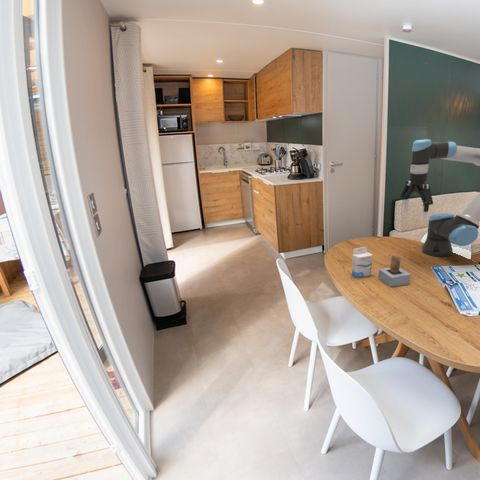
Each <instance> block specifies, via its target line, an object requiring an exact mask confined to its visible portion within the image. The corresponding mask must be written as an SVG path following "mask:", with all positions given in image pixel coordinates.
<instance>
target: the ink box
mask: <svg viewBox="0 0 480 480" xmlns="http://www.w3.org/2000/svg"><path fill="white" fill-rule="evenodd" d="M373 257H374V255H373V254H372V253H370V252H368V246H362V247H357V248H356V247H354V248H353V250H352V266H351V275H352V276H353V277H355V278H357V279H358V278H363V277H369V276H372V269H373Z"/></svg>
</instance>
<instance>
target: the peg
mask: <svg viewBox="0 0 480 480" xmlns="http://www.w3.org/2000/svg"><path fill="white" fill-rule="evenodd" d="M401 259H402V257H401V256H400V255H397V254H394V255H393V254H392V255H391V258H390V273H391V274H392V275H396V274H399V269H400V268H401V261H402V260H401Z"/></svg>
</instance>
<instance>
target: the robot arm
mask: <svg viewBox="0 0 480 480" xmlns="http://www.w3.org/2000/svg"><path fill="white" fill-rule="evenodd" d="M410 158H411V160H410V162H411V163H410V170H409V171H410V173H409V178H408V180H406V181H405V184H404V187H403V189H402V192H401V194H400V196H399V197H400V198H401V199H402V213H406V212H409V203H410V196H412V194H414V192H415V193H417V194H419V197H420V199H421V201H422V205H421V214H420V218H421V219H427V217H428V212H429V209H430V205H431V206H432V205H434V201H433V196H432V191H431V184H430V183H429V184H428V183H427V184H426V182H427V180H428V172H429V166H430V165H429V163H430V160H437V159H438V160H440V159H441V160H445V161H446V160H447V161H454V162H460V163H461V162H462V163H470V164H474V165H475V166H478V167H480V148H479V147H478V148H477V147H471V146H463V145H457V144H456V142H454V141H445V142H444V141H443V142H441V141H432V140H431V139H417V140H415V141H413V145H412V148H411V157H410ZM479 228H480V191H479V192H478V193H477V194H476V195H475V196H474V198H473V199H472V201H470V203H469V204H468V205H467V207H466V208H465V209H464V210H463V212H462V213H460V214H459V213H458V214H456V215H455V214H453V213H444V212H441V213H440V212H439V213H433V214H431V215H429V218H428V226H427V233H426V239H425V240H424V243H423V245H422V247H421V252H422V253H423V254H426V255H429V256H432V257H439V258H440V257H443V258H445V257H449V256H452V255H453V252H454V251H453V246H452V244H453V245H456V246H459V247H465V246H469V245H471V244H473V243H475V241H477V239H478V237H479Z"/></svg>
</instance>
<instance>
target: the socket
mask: <svg viewBox="0 0 480 480" xmlns="http://www.w3.org/2000/svg"><path fill="white" fill-rule="evenodd" d="M378 279H379V280H380V281H382V282H383V283H384V284H386V285H387V286H389V287H390V288H392V287H393V288H394V287H400V286H404V285H409V284H410V283H411V274H410V273H409V272H407V271H406V270H404V269H403V268H401V267H400V269H399V274H396V275H392V274H391V273H390V267H384V268H379V269H378Z"/></svg>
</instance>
